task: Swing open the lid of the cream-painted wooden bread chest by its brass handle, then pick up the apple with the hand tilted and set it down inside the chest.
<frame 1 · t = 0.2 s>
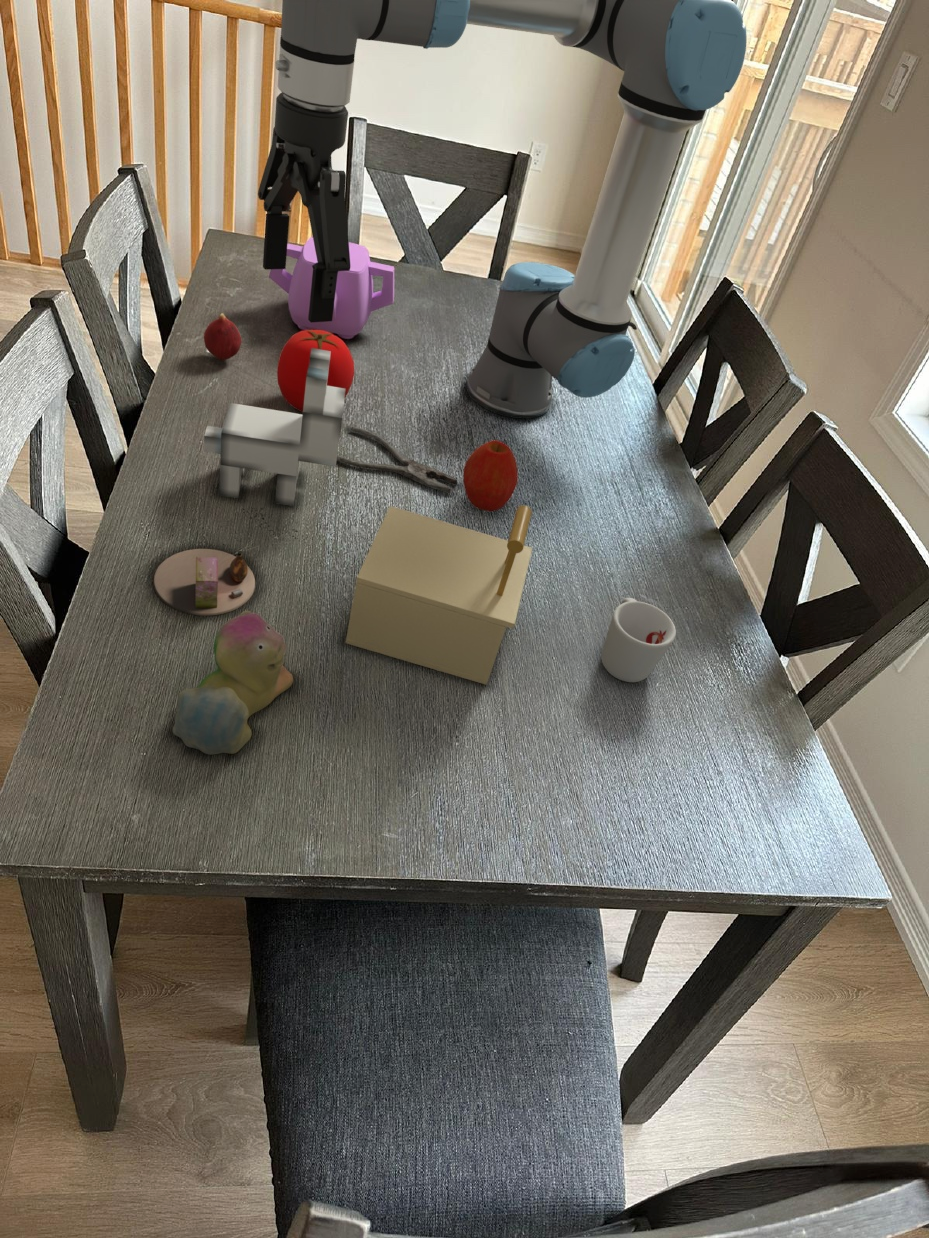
hand: (296, 293, 107), 28 cm above the table, tool pointing down, fingers open, 13 cm apart
cup: (620, 660, 115), on the table
chest: (429, 624, 112), on the table
decorative stone: (534, 334, 179), on the table
lid: (455, 537, 102), point 14 cm above the table, hinge at 0.0°
onion: (222, 361, 147), on the table
apple: (482, 503, 133), on the table
pink plate: (204, 582, 109), on the table
teapot: (328, 322, 164), on the table
toy llama: (268, 487, 125), on the table
tomato: (312, 407, 142), on the table
pliers: (395, 461, 136), on the table
sculpture: (234, 709, 96), on the table
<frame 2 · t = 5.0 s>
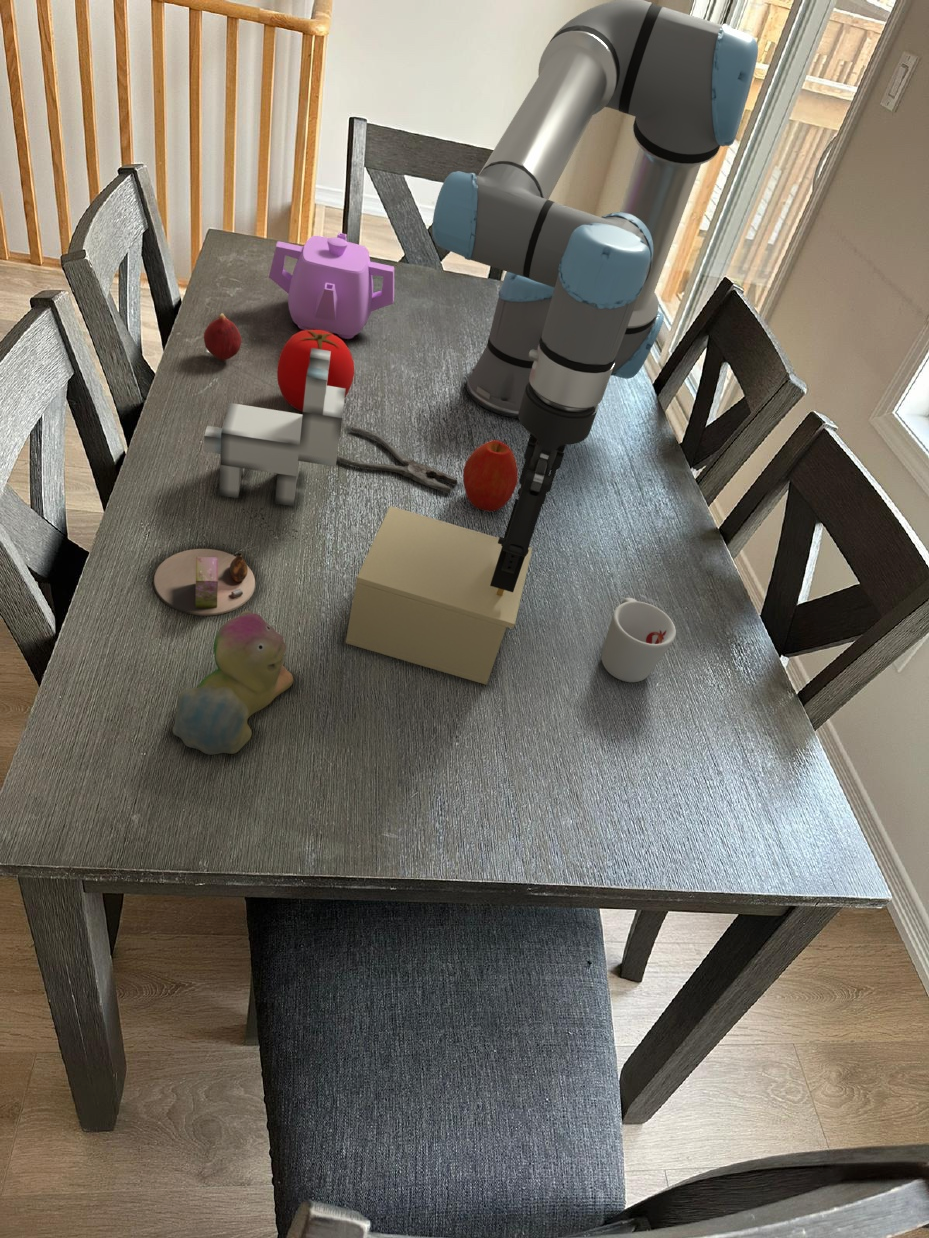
hand: (507, 566, 103), 12 cm above the table, tool pointing down, fingers closed on lid, 7 cm apart
lid: (455, 537, 102), point 14 cm above the table, hinge at 0.0°, touching gripper
everything else where it was.
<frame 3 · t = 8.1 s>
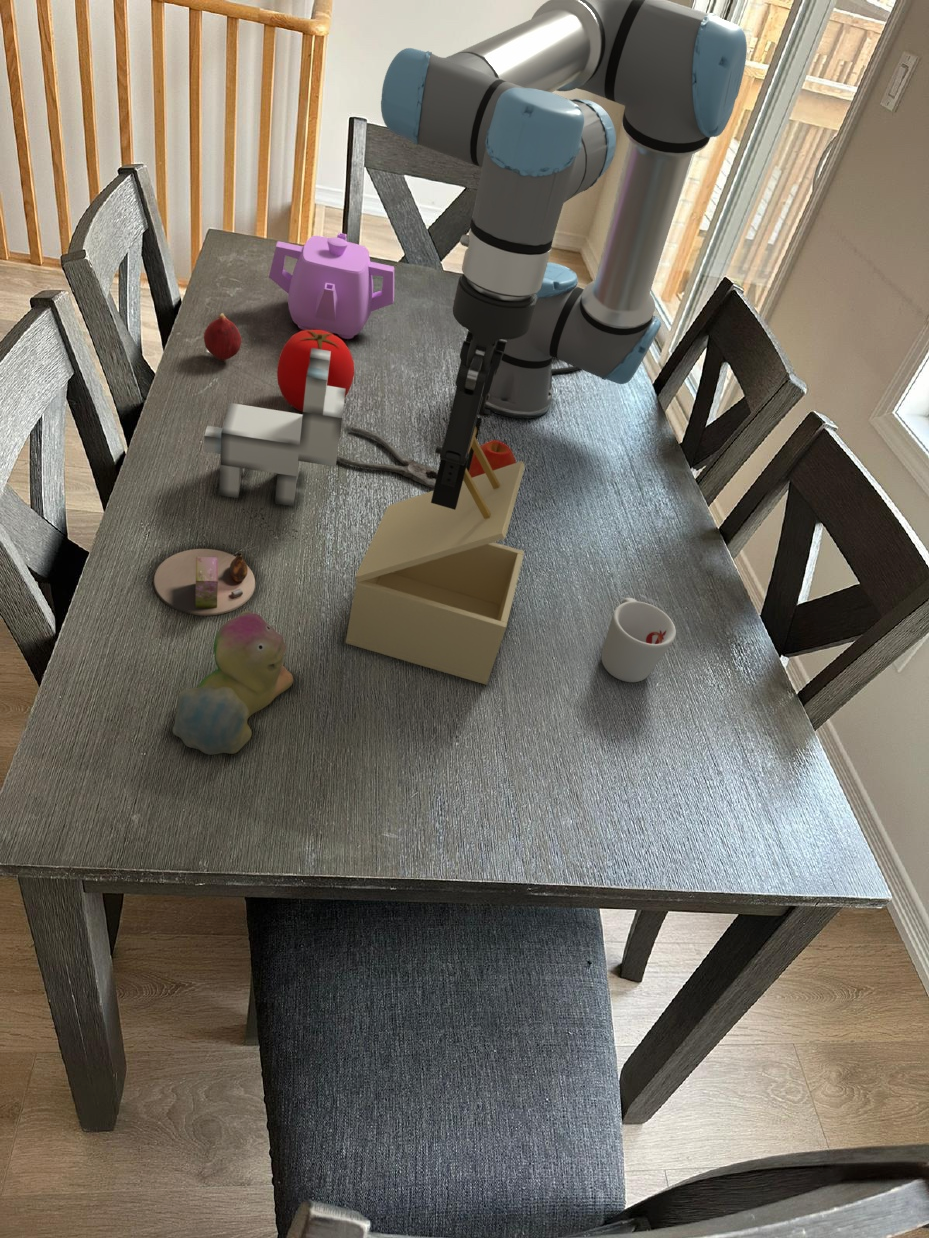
hand: (451, 484, 97), 21 cm above the table, tool pointing down, fingers closed on lid, 7 cm apart
lid: (424, 491, 99), point 19 cm above the table, hinge at 39.0°, touching gripper
everything else where it was.
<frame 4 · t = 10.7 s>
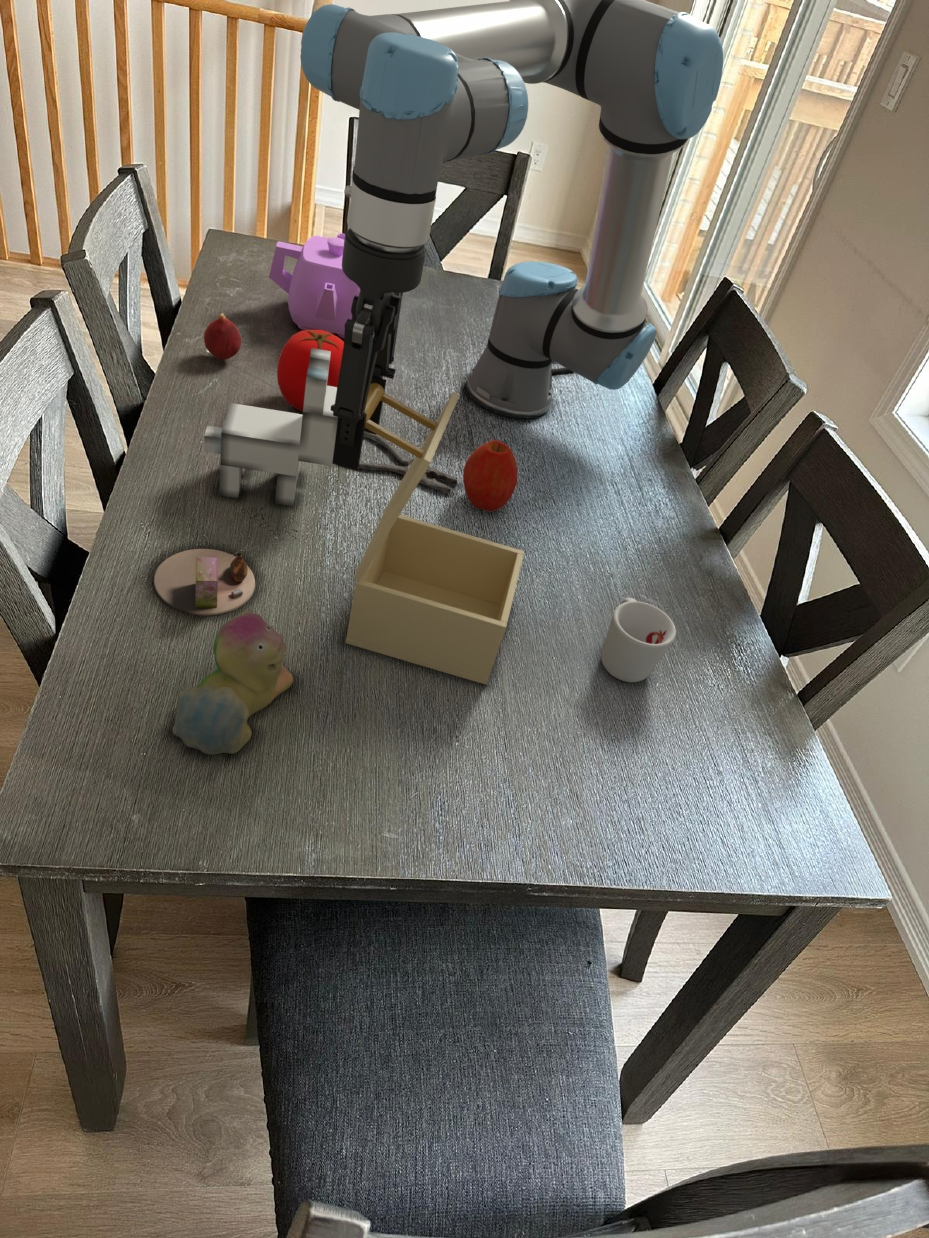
hand: (355, 446, 97), 22 cm above the table, tool pointing down, fingers closed on lid, 7 cm apart
lid: (373, 468, 98), point 20 cm above the table, hinge at 74.5°, touching gripper
everything else where it was.
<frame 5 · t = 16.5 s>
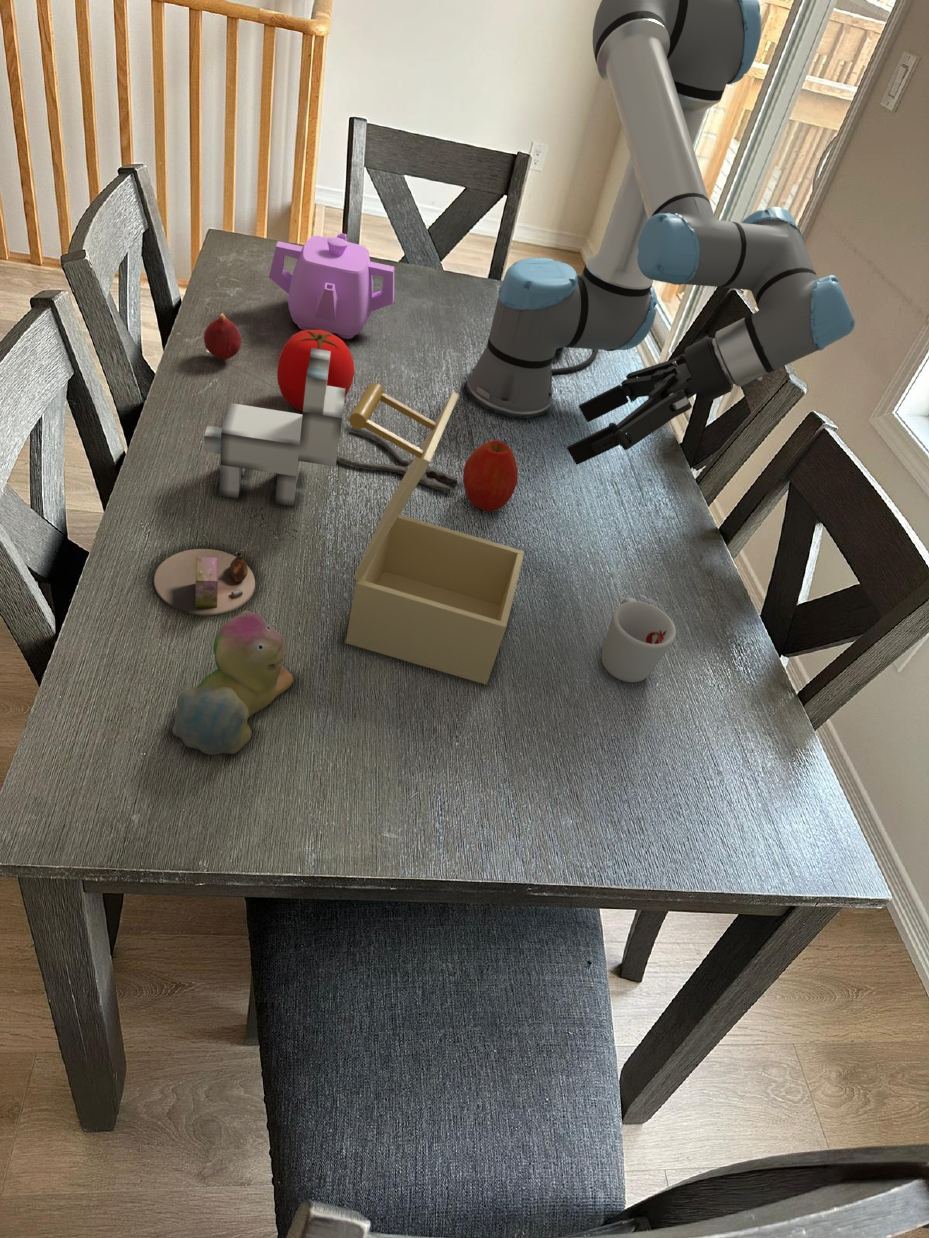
hand: (577, 434, 123), 15 cm above the table, tool tilted 45°, fingers open, 13 cm apart
lid: (372, 468, 98), point 20 cm above the table, hinge at 74.7°
everything else where it was.
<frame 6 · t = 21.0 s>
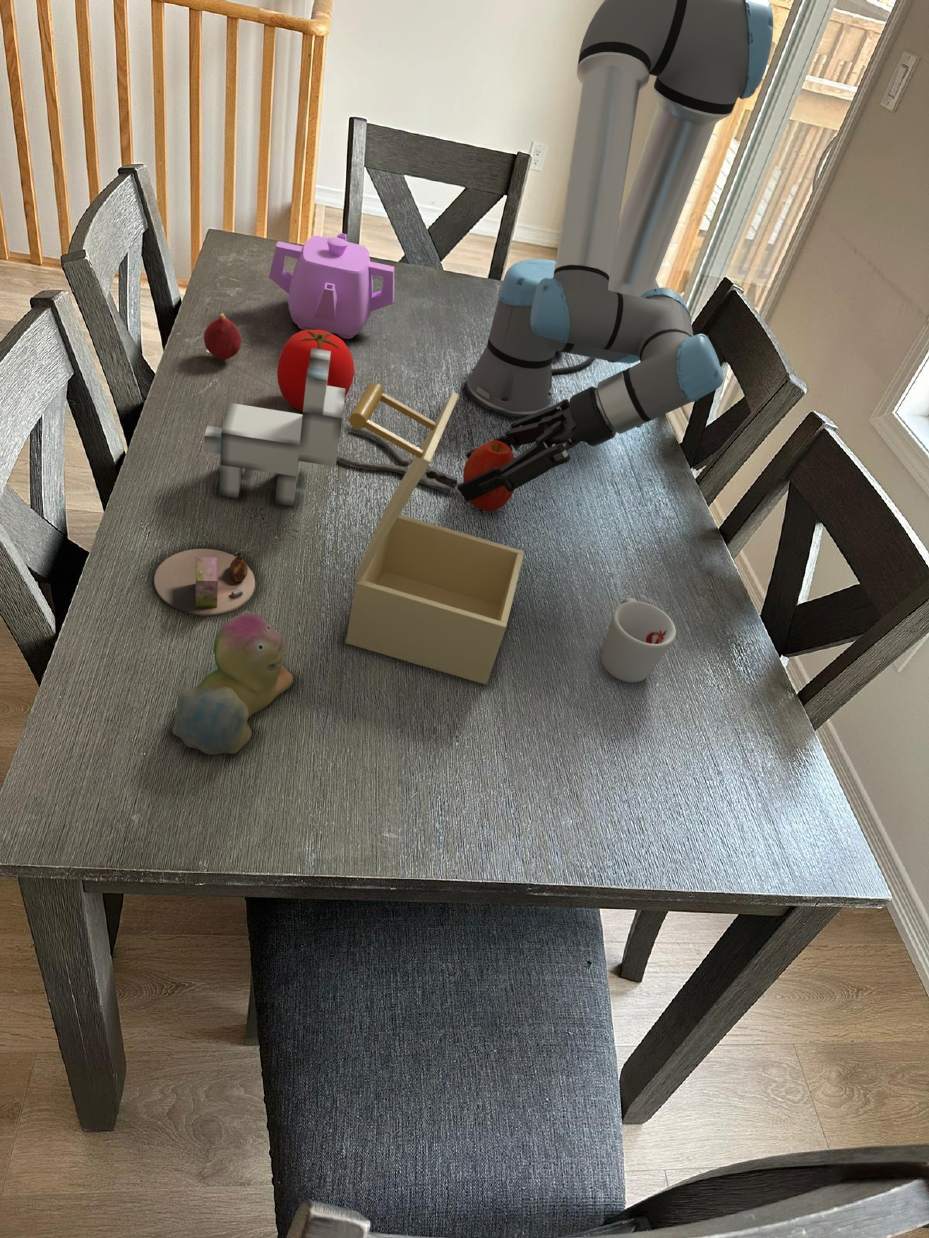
hand: (466, 477, 130), 4 cm above the table, tool tilted 45°, fingers closed on apple, 8 cm apart
apple: (482, 503, 133), on the table, touching gripper
everything else where it was.
when the fingers open (11 cm above the table, at t = 31.1 s): apple drops 6 cm, resting on chest.
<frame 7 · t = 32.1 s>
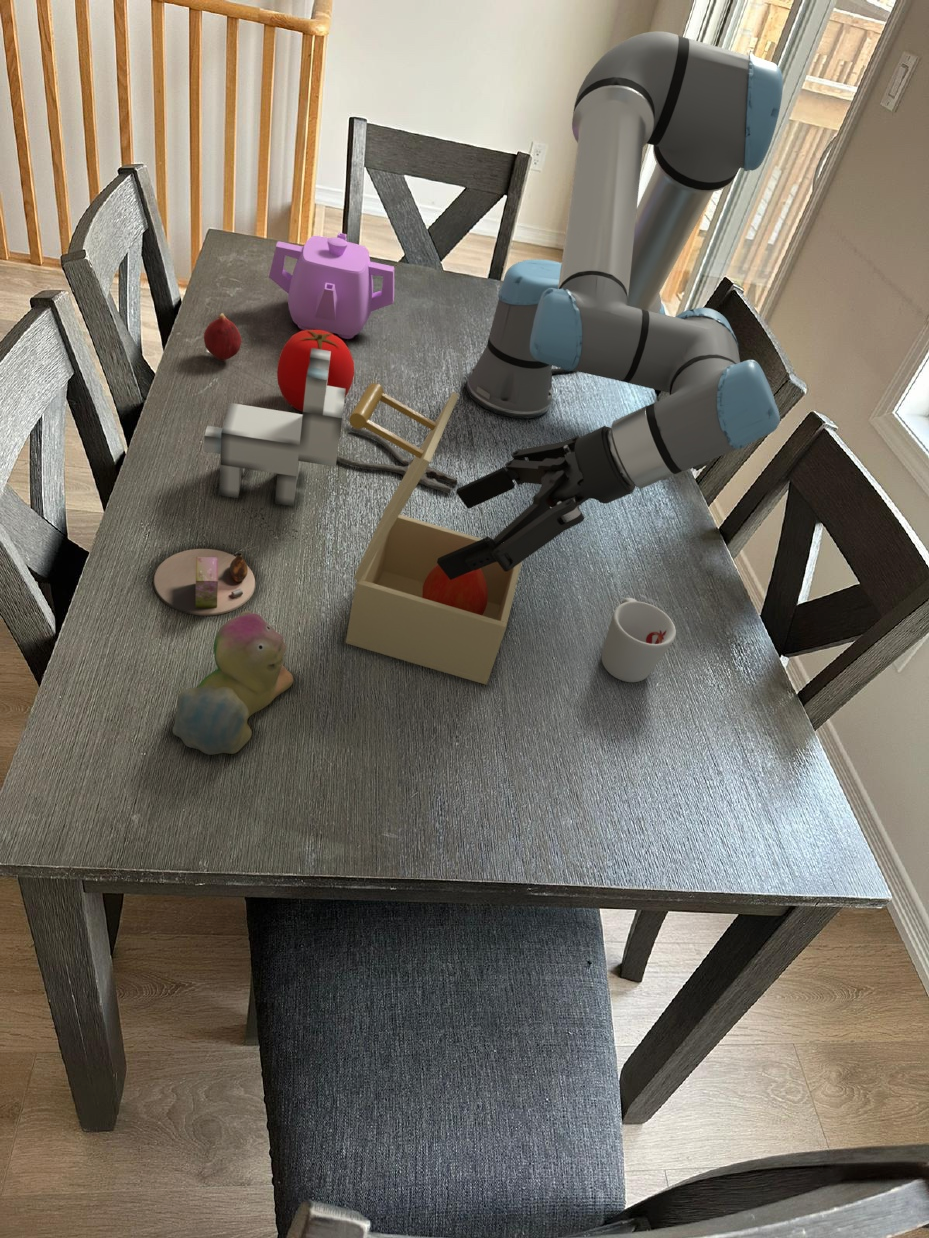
hand: (453, 532, 102), 15 cm above the table, tool tilted 45°, fingers open, 13 cm apart
apple: (446, 625, 111), point 1 cm above the table, touching chest
everything else where it was.
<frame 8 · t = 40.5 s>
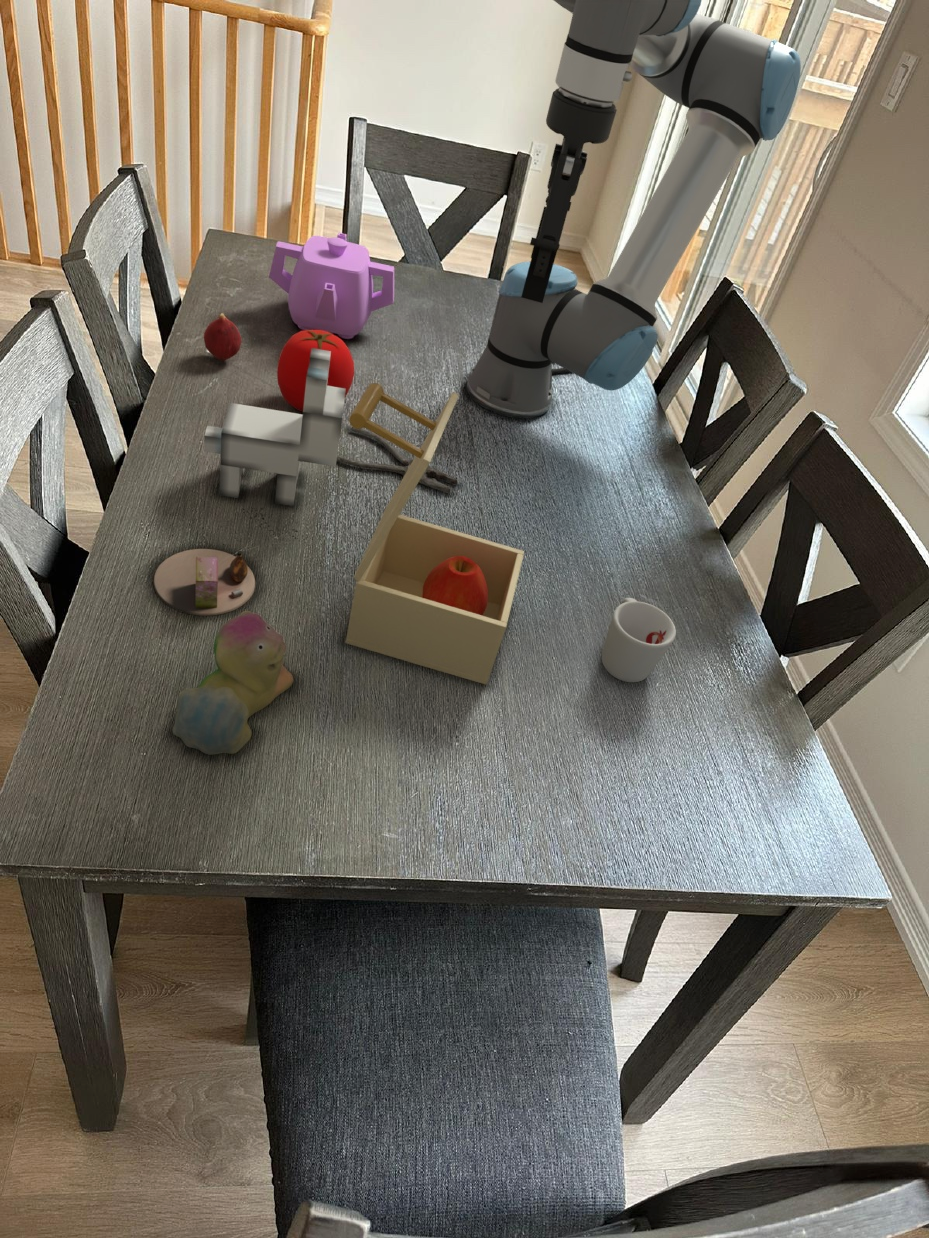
hand: (536, 278, 114), 33 cm above the table, tool pointing down, fingers open, 13 cm apart
nothing on the table moved.
at the end: lid at +75° (first picture: +0°); apple inside the target area in the chest (2.1 cm from its centre), point 0.6 cm above the chest's base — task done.
